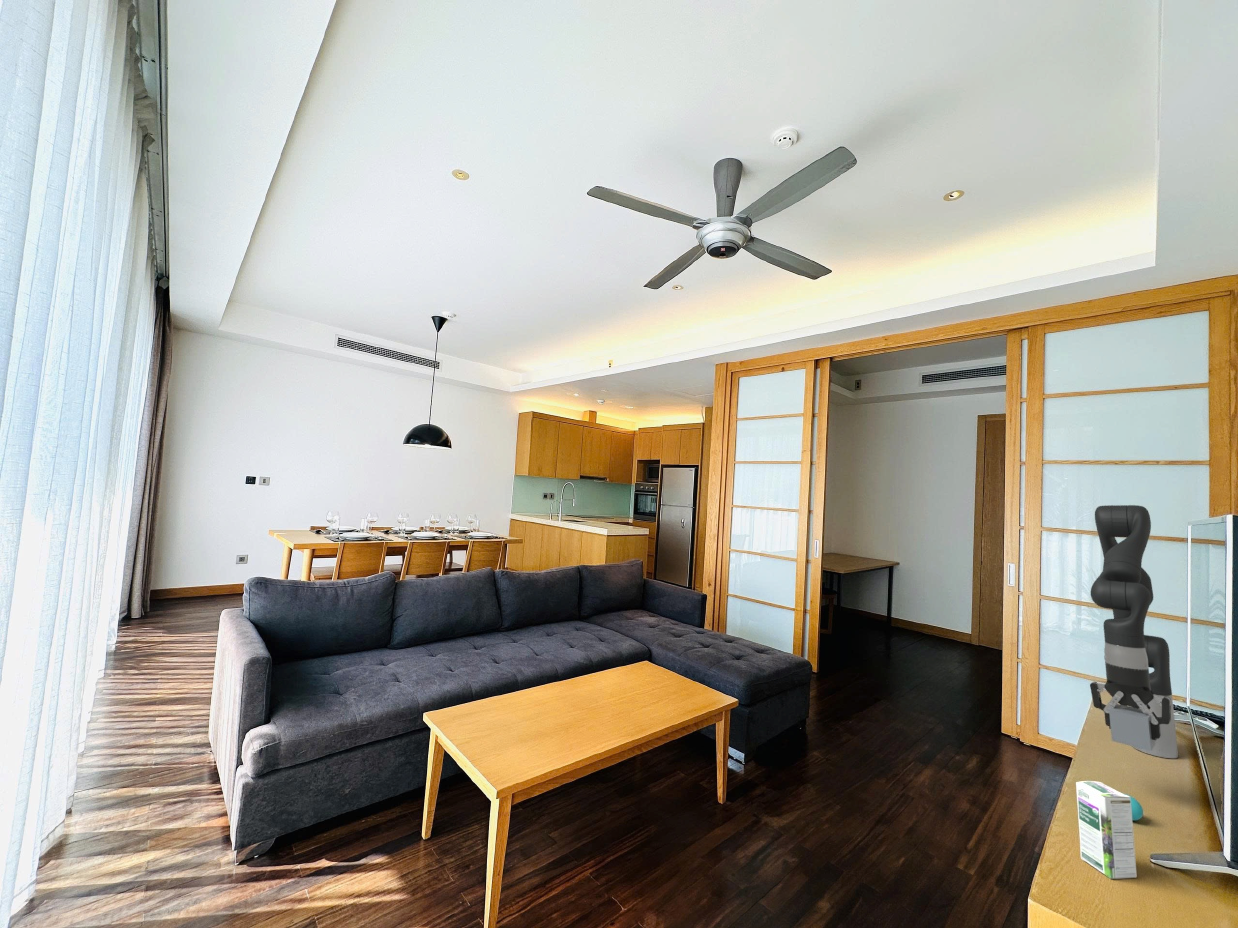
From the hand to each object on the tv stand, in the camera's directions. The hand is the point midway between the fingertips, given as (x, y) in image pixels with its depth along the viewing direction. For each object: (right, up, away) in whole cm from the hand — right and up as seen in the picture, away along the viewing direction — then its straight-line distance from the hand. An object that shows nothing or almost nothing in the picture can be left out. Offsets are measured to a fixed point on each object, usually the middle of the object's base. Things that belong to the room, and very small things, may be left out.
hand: (1132, 733), depth 119 cm
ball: (-11, -12, -9) cm, 18 cm away
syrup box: (-32, -12, -26) cm, 42 cm away
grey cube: (0, -2, 0) cm, 2 cm away
